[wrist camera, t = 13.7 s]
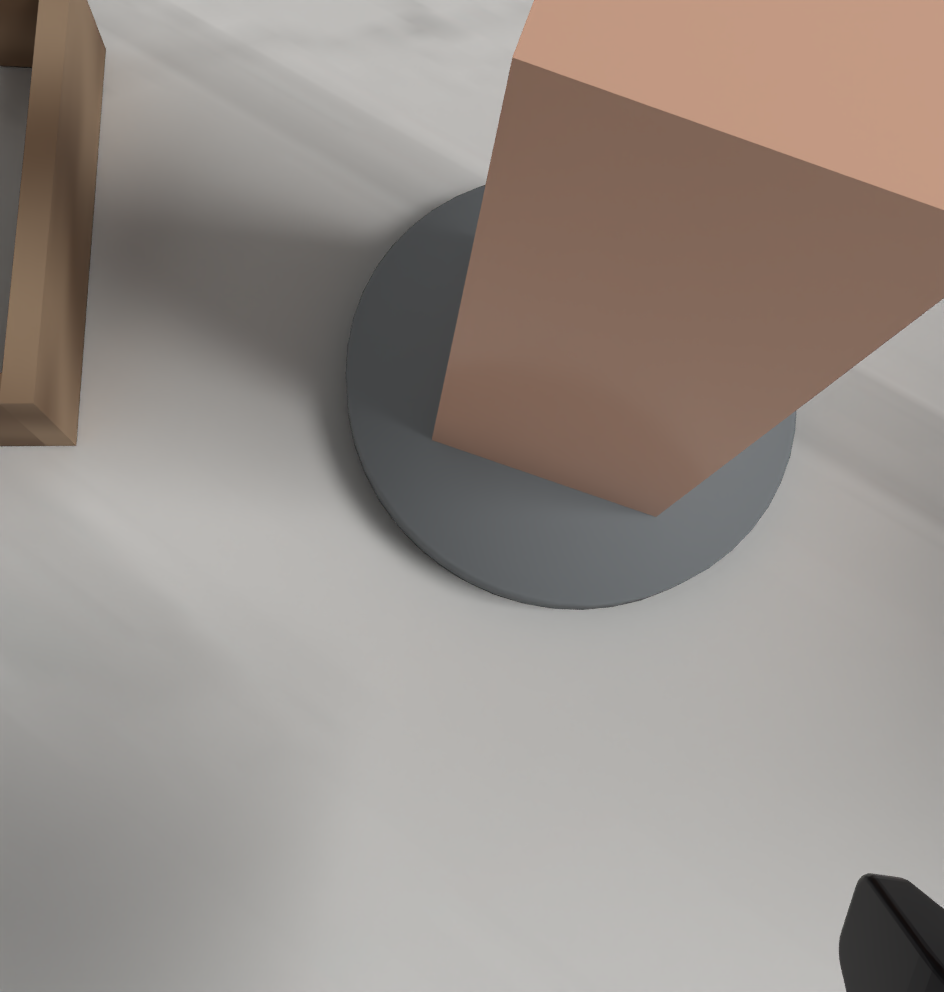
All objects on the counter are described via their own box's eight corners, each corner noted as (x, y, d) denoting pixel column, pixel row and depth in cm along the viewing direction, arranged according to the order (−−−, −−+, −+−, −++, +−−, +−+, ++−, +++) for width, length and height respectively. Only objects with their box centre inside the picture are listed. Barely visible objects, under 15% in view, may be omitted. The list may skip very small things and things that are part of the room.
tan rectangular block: (656, 516, 19) (1023, 237, 8) (431, 440, 19) (513, 58, 8) (710, 315, 20) (1083, -145, 10) (502, 241, 20) (648, -305, 10)
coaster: (503, 700, 18) (510, 698, 18) (264, 315, 20) (259, 293, 19) (860, 465, 21) (883, 452, 20) (619, 137, 22) (631, 110, 21)
